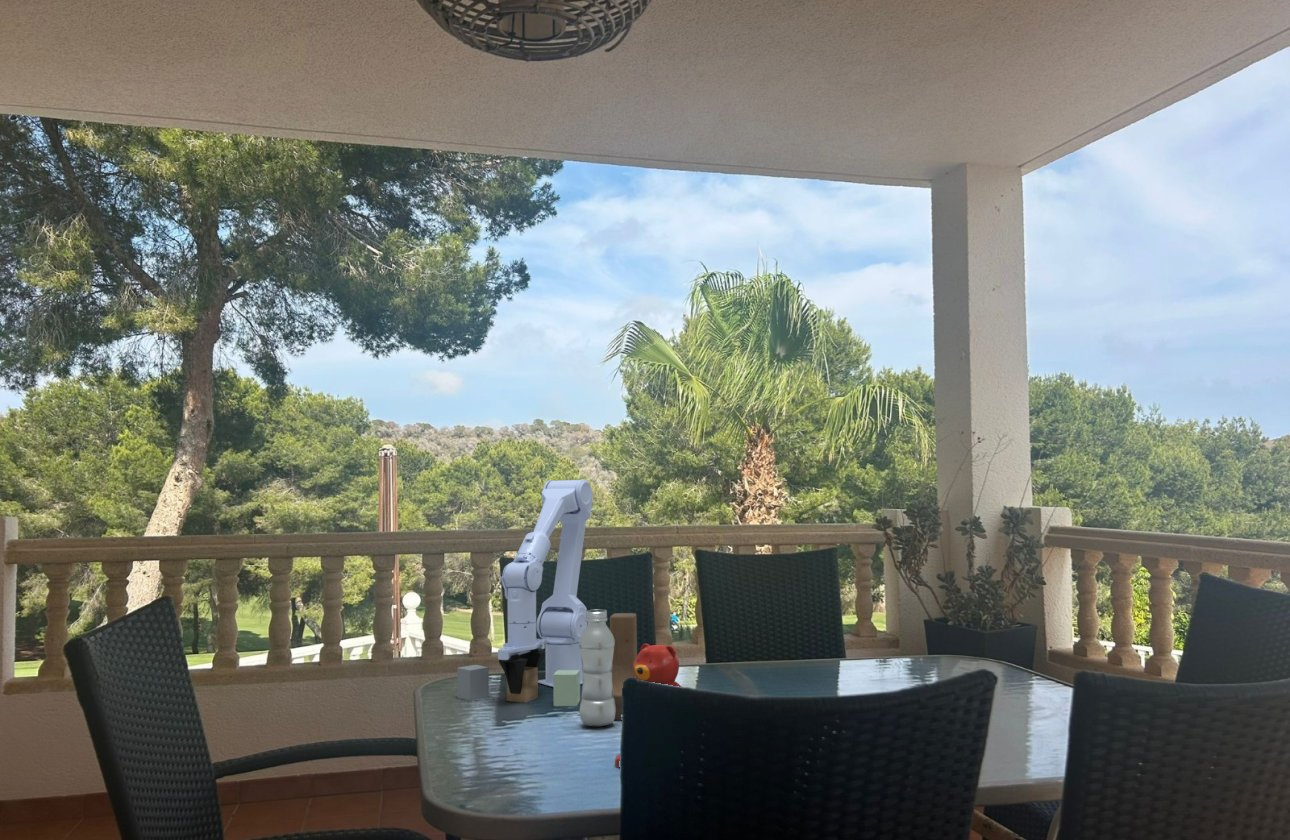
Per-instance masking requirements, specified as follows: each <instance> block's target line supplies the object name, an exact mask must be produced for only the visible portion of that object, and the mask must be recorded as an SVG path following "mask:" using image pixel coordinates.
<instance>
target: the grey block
mask: <svg viewBox="0 0 1290 840" xmlns="http://www.w3.org/2000/svg"><path fill="white" fill-rule="evenodd" d="M489 669H490V668H489V666H485V665H484V666H483V665H479V664H472V665H465V666H459V667H456V671H457V672H456V677H457V678H456V680H457V681H456V683H457V684H456V687H457V688H456V691H457V692H456V695H457V696H456V698H458V699H461V700H464V701H465V700H466V701H469V702H472V701H477V700H482V699H485V698H486V699H487V698H489V697H490V696H489V694H490V692H489V689H490V688H489V687H490V686H489V682H490V681H489V675H490V674H489V671H490V670H489Z"/></svg>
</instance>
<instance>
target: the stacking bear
mask: <svg viewBox="0 0 1290 840" xmlns="http://www.w3.org/2000/svg"><path fill="white" fill-rule="evenodd" d="M679 669H680V661H679V657H678V656H677V650H676V648H675V647H674V646H672V645H664V644H654V645H650V644H649V643H643V644H642V645H641V646H640V651H639V652H638V653H637V657H636V659H635V661H634V664H633V670H634V673H635V676H636V678H637V680H638V679H639V680H644V681H648V682H655V683H661V684H668V685H673V686H679V687H682V685H680V683H678V682H677V681H676V679H677V677H678V674H679ZM639 680H638V681H639ZM619 761H620V753H618V754H617V755H616V756H615V759H614V766H615V767H616V768H619Z"/></svg>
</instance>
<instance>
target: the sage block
mask: <svg viewBox="0 0 1290 840" xmlns="http://www.w3.org/2000/svg"><path fill="white" fill-rule="evenodd" d="M552 688H553V707H577V706H578V705H579V703H581V684H580V670H557V671H556V672H555V673H554V674H553V687H552Z"/></svg>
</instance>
